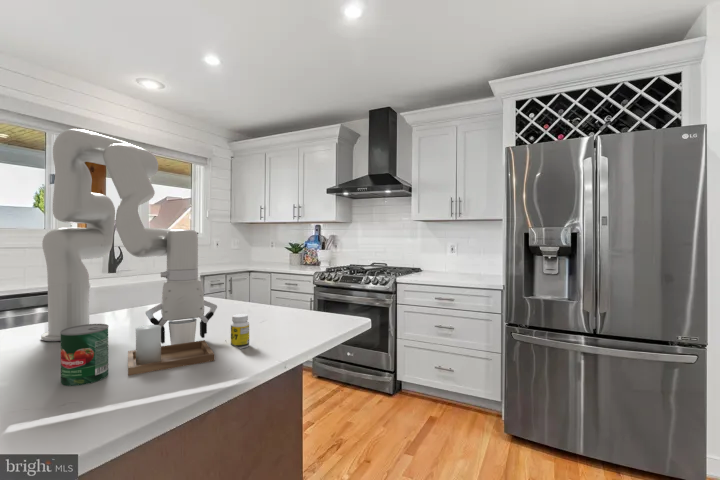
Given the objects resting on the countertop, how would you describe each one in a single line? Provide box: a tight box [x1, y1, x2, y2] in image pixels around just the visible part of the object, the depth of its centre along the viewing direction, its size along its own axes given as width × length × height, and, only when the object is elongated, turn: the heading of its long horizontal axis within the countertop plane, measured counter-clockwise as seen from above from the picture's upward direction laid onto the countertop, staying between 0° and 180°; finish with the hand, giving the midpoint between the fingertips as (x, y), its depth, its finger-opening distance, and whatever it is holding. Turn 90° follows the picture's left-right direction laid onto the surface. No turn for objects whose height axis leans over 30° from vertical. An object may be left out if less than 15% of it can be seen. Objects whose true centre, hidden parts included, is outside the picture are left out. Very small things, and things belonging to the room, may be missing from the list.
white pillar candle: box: [135, 324, 162, 365], centre depth 85 cm, size 5×5×8 cm
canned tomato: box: [59, 323, 109, 387], centre depth 75 cm, size 8×8×11 cm
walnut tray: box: [127, 340, 215, 377], centre depth 87 cm, size 13×17×2 cm
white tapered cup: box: [168, 318, 198, 345], centre depth 99 cm, size 7×7×7 cm
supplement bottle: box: [230, 313, 250, 350], centre depth 99 cm, size 5×5×8 cm
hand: (183, 339), depth 99 cm, fingers open, 9 cm apart
